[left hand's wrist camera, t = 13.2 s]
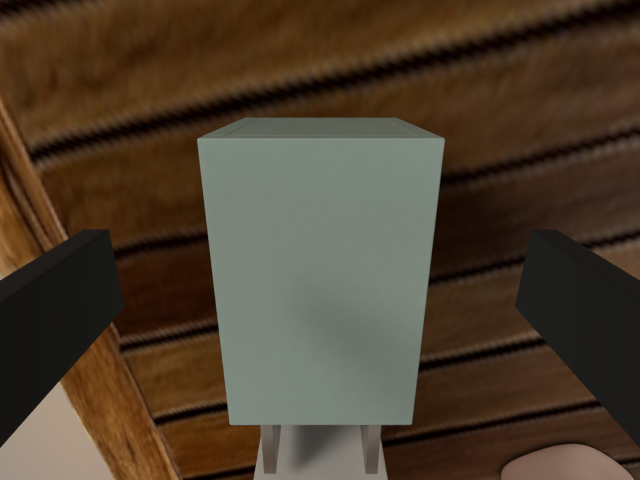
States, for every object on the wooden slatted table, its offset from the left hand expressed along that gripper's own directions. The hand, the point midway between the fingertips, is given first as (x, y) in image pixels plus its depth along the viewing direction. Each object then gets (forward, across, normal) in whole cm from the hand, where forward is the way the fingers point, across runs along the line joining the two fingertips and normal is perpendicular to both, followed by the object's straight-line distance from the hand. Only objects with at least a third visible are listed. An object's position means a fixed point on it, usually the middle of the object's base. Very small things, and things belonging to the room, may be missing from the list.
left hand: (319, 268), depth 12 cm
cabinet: (+17, 0, -5) cm, 17 cm away
